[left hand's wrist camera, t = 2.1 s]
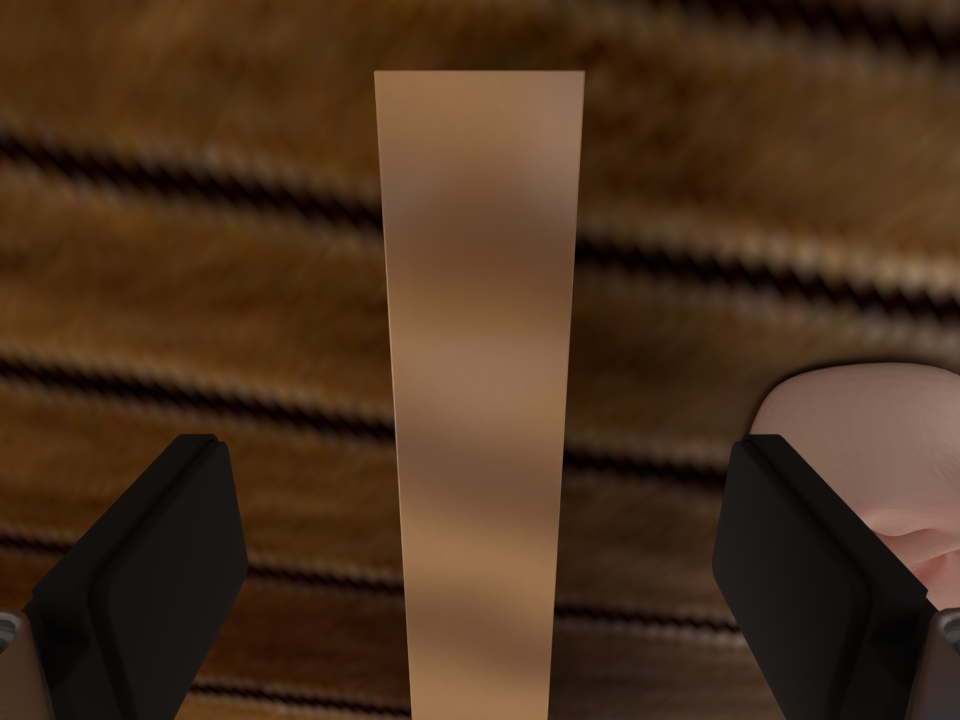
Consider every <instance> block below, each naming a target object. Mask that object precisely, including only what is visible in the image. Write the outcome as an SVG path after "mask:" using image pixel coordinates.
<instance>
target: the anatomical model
mask: <svg viewBox="0 0 960 720" xmlns="http://www.w3.org/2000/svg"><path fill="white" fill-rule="evenodd" d="M749 434H780V435H781V436H782V437H783V438H784V439H785V440H786V441H787V442H788V443H789V444H790V445H791V446H792V447H793V448H794V449H795V450H796V451H797V452H798V453H799V454H800V455H801V457H802V458H803V459H804V460H805V461H806V462H807V463H808V464H809V465H810V466H811V467H812V468H813V469H814V470H815V471H816V472H817V473H818V474H819V475H820V476H821V478H822V479H823V480H824V481H825V482H826V483H827V484H828V485H829V486H830V487H831V488H832V489H833V490H834V491H835V492H836V493H837V494H838V495H839V496H840V498H841V499H842V500H843V501H844V502H845V503H846V504H847V505H848V506H849V507H850V508H851V509H852V510H853V511H854V512H855V513H856V514H857V515H858V516H859V518H860V519H861V520H862V521H863V522H864V523H865V524H866V525H867V526H868V527H869V528H870V529H871V530H872V531H873V532H874V533H875V534H876V535H877V536H878V538H879V539H880V540H881V541H882V542H883V543H884V544H885V545H886V546H887V547H888V548H889V549H890V550H891V551H892V552H893V553H894V554H895V555H896V556H897V558H898V559H899V560H900V561H901V562H902V563H903V564H904V565H905V566H906V567H907V568H908V569H909V570H910V571H911V572H912V573H913V574H914V575H915V576H916V578H917V579H918V580H919V581H920V582H921V583H922V584H923V585H924V586H925V587H926V588H927V589H928V593H927V596H926V598H927V599H928V600H929V601H930V602H931V603H932V604H933V605H934V606H935V607H936V608H937V609H938V610H939V611H941V610H943V609H945V608H957V607H960V376H959V375H957V374H955V373H953V372H950V371H948V370H945V369H941V368H938V367H934V366H927V365H920V364H913V363H891V362H886V363H866V364H854V365H845V366H835V367H830V368H824V369H819V370H813V371H809V372H806V373H802V374H799V375H797V376H794V377H792V378H789V379H787V380H786V381H784V382H782V383H781V384H779V385H778V386H777V387H775V388H774V389H773V390H772V391H771V392H770V393H769V394H768V396H767V397H766V398H765V400H764V401H763V403H762V405H761V406H760V408H759V411H758V413H757V415H756V417H755V420H754V422H753V424H752V427H751V430H750V433H749Z"/></svg>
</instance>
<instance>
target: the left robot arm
mask: <svg viewBox="0 0 960 720" xmlns="http://www.w3.org/2000/svg"><path fill="white" fill-rule="evenodd" d="M247 568H248V559H247V553H246V547H245V541H244V536H243V530H242V524H241V519H240V513H239V507H238V502H237V496H236V490H235V485H234V479H233V473H232V468H231V462H230V456H229V451H228V447H227V445H226V443H225V442H219V441H218V439H217V437H216V436H215V435H214V434H180V435H179V436H178V437H177V438H176V439H175V440H174V441H173V442H172V443H171V444H170V445H169V446H168V447H167V448H166V449H165V450H164V451H163V452H162V453H161V454H160V455H159V456H158V458H157V459H156V460H155V461H154V462H153V463H152V464H151V465H150V466H149V467H148V468H147V469H146V470H145V471H144V472H143V473H142V474H141V475H140V476H139V478H138V479H137V480H136V481H135V482H134V483H133V484H132V485H131V486H130V487H129V488H128V489H127V490H126V491H125V492H124V493H123V494H122V495H121V496H120V498H119V499H118V500H117V501H116V502H115V503H114V504H113V505H112V506H111V507H110V508H109V509H108V510H107V511H106V512H105V513H104V514H103V515H102V516H101V518H100V519H99V520H98V521H97V522H96V523H95V524H94V525H93V526H92V527H91V528H90V529H89V530H88V531H87V532H86V533H85V534H84V535H83V536H82V538H81V539H80V540H79V541H78V542H77V543H76V544H75V545H74V546H73V547H72V548H71V549H70V550H69V551H68V552H67V553H66V554H65V555H64V556H63V558H62V559H61V560H60V561H59V562H58V563H57V564H56V565H55V566H54V567H53V568H52V569H51V570H50V571H49V572H48V573H47V574H46V575H45V576H44V578H43V579H42V580H41V581H40V582H39V583H38V584H37V585H36V586H35V587H34V588H33V589H32V593H33V596H34V598H33V599H32V600H31V601H30V602H29V603H28V604H27V605H26V606H25V607H24V608H23V609H22V610H21V611H19V610H17V609H15V608H3V607H0V720H174V718H175V716H176V714H177V712H178V710H179V708H180V706H181V704H182V702H183V700H184V698H185V696H186V694H187V692H188V690H189V688H190V686H191V684H192V682H193V681H194V679H195V677H196V675H197V673H198V671H199V669H200V667H201V665H202V663H203V661H204V659H205V657H206V655H207V653H208V651H209V649H210V647H211V645H212V643H213V641H214V639H215V637H216V635H217V633H218V631H219V629H220V628H221V626H222V624H223V622H224V620H225V618H226V616H227V614H228V612H229V610H230V608H231V606H232V604H233V602H234V600H235V598H236V596H237V594H238V592H239V590H240V588H241V586H242V584H243V582H244V580H245V578H246V574H247ZM712 568H713V574H714V578H715V580H716V582H717V584H718V586H719V588H720V590H721V592H722V594H723V596H724V598H725V600H726V602H727V604H728V606H729V608H730V610H731V612H732V614H733V616H734V618H735V620H736V622H737V624H738V626H739V628H740V629H741V631H742V633H743V635H744V637H745V639H746V641H747V643H748V645H749V647H750V649H751V651H752V653H753V655H754V657H755V659H756V661H757V663H758V665H759V667H760V669H761V671H762V673H763V675H764V677H765V679H766V681H767V682H768V684H769V686H770V688H771V690H772V692H773V694H774V696H775V698H776V700H777V702H778V704H779V706H780V708H781V710H782V712H783V714H784V716H785V718H786V720H960V607H957V608H945V609H943V610H941V611H939V610H938V609H937V608H936V607H935V606H934V605H933V604H932V603H931V602H930V601H929V600H928V599H927V598H926V596H927V593H928V589H927V588H926V587H925V586H924V585H923V584H922V583H921V582H920V581H919V580H918V579H917V578H916V576H915V575H914V574H913V573H912V572H911V571H910V570H909V569H908V568H907V567H906V566H905V565H904V564H903V563H902V562H901V561H900V560H899V559H898V558H897V556H896V555H895V554H894V553H893V552H892V551H891V550H890V549H889V548H888V547H887V546H886V545H885V544H884V543H883V542H882V541H881V540H880V539H879V538H878V536H877V535H876V534H875V533H874V532H873V531H872V530H871V529H870V528H869V527H868V526H867V525H866V524H865V523H864V522H863V521H862V520H861V519H860V518H859V516H858V515H857V514H856V513H855V512H854V511H853V510H852V509H851V508H850V507H849V506H848V505H847V504H846V503H845V502H844V501H843V500H842V499H841V498H840V496H839V495H838V494H837V493H836V492H835V491H834V490H833V489H832V488H831V487H830V486H829V485H828V484H827V483H826V482H825V481H824V480H823V479H822V478H821V476H820V475H819V474H818V473H817V472H816V471H815V470H814V469H813V468H812V467H811V466H810V465H809V464H808V463H807V462H806V461H805V460H804V459H803V458H802V457H801V455H800V454H799V453H798V452H797V451H796V450H795V449H794V448H793V447H792V446H791V445H790V444H789V443H788V442H787V441H786V440H785V439H784V438H783V437H782V436H781V435H780V434H746V435H745V436H744V437H743V439H742V441H741V442H735V443H734V445H733V447H732V451H731V456H730V462H729V468H728V473H727V479H726V485H725V490H724V496H723V502H722V507H721V513H720V519H719V524H718V530H717V536H716V541H715V547H714V553H713V559H712Z"/></svg>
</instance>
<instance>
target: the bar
mask: <svg viewBox="0 0 960 720" xmlns="http://www.w3.org/2000/svg"><path fill="white" fill-rule="evenodd" d="M374 81H375V98H376V115H377V132H378V149H379V166H380V183H381V200H382V217H383V234H384V251H385V268H386V285H387V302H388V319H389V336H390V353H391V370H392V387H393V404H394V421H395V438H396V455H397V472H398V489H399V506H400V523H401V540H402V557H403V574H404V591H405V608H406V625H407V642H408V659H409V676H410V693H411V710H412V720H548V704H549V687H550V669H551V652H552V635H553V618H554V601H555V584H556V567H557V550H558V532H559V515H560V498H561V481H562V464H563V447H564V430H565V413H566V395H567V378H568V361H569V344H570V327H571V310H572V293H573V275H574V258H575V241H576V224H577V207H578V190H579V173H580V156H581V138H582V121H583V104H584V87H585V71H584V70H376V71H374Z"/></svg>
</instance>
